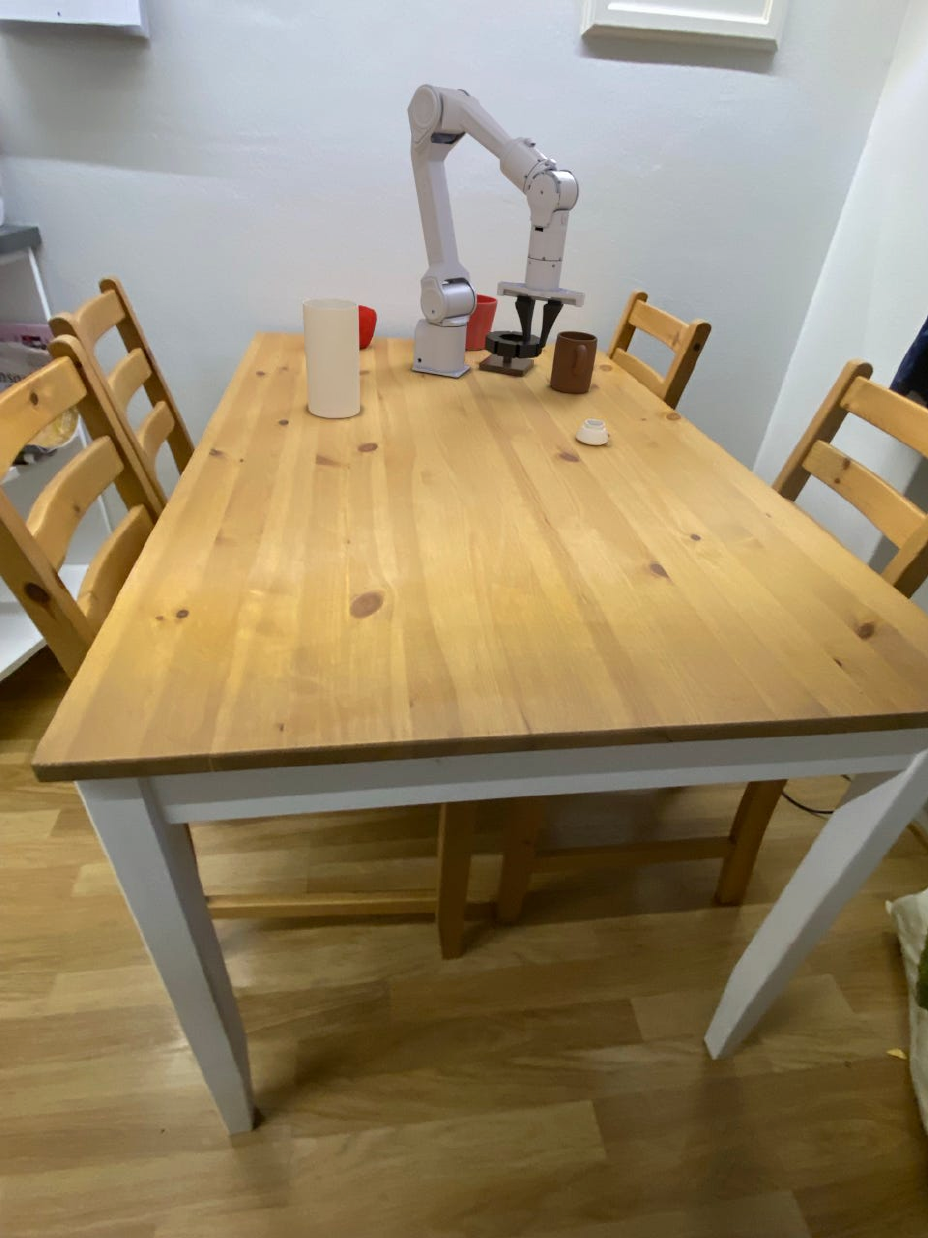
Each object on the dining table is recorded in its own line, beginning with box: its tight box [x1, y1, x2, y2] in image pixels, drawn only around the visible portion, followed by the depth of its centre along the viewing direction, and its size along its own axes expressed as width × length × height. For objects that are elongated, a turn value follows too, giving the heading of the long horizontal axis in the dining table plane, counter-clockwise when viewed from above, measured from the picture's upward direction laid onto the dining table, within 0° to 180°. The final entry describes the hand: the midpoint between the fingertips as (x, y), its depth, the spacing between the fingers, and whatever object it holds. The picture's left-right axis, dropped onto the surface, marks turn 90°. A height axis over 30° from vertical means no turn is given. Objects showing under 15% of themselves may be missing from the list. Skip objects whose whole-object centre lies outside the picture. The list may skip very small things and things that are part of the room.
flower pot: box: [465, 293, 499, 351], centre depth 150 cm, size 11×11×10 cm
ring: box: [484, 330, 543, 359], centre depth 121 cm, size 10×10×2 cm
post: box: [478, 353, 535, 377], centre depth 139 cm, size 9×9×6 cm
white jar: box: [575, 418, 610, 446], centre depth 108 cm, size 5×3×5 cm
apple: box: [358, 304, 378, 349], centre depth 143 cm, size 9×9×8 cm
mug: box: [549, 330, 599, 394], centre depth 127 cm, size 12×8×9 cm, turn 0°
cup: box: [302, 297, 361, 419], centre depth 108 cm, size 8×8×16 cm
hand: (534, 345), depth 121 cm, fingers closed on ring, 2 cm apart
